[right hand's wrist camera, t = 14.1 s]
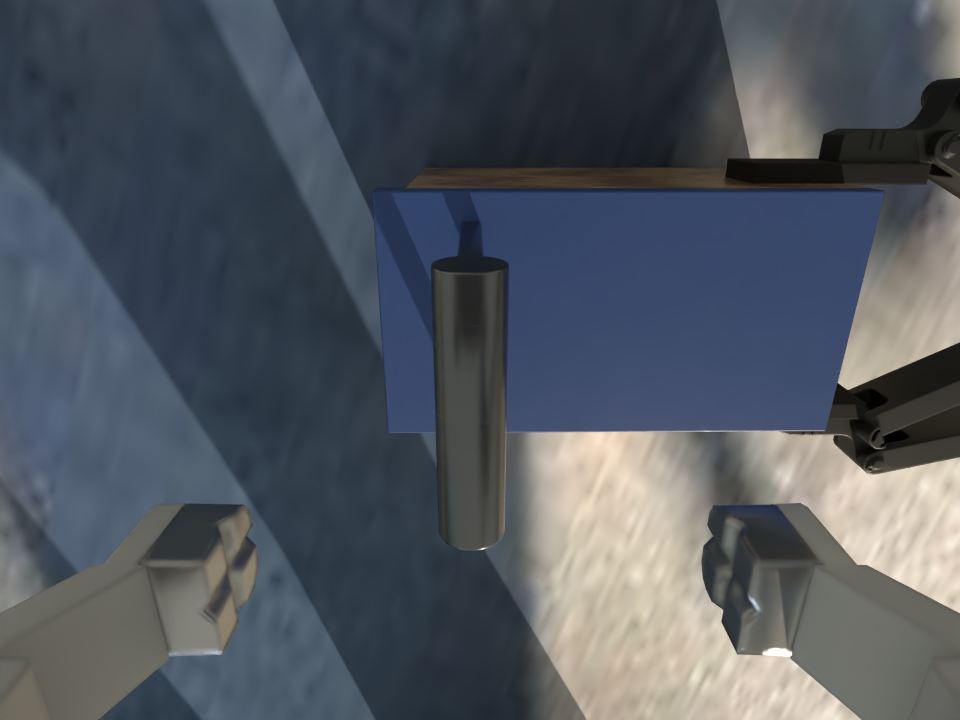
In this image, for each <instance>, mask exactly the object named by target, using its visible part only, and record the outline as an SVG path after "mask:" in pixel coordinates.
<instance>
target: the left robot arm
mask: <svg viewBox="0 0 960 720" xmlns="http://www.w3.org/2000/svg"><path fill="white" fill-rule="evenodd" d="M921 105H922V107H923V108H922V109H921V111H920V113H919V114H918V116H917V117H916V118H915V120H914V121H913V122H911V123H910V124H909V125H907V126H905V127H903V128H899V129H835V130H833V131H830V132H828V133H825V134H824V135H823V140H822V144H821V149H820V154H819V159H728V161H727V168H726V175H725V177H727V178H732V179H736V180H740V181H745V182H749V183H753V184H926V183H927V180H928V179H930V180H931V181H933V182H934V183H936V184H938V185H939V186H941V187H942V188H944V189H945V190H947V191H948V192H950V193H952V194H953V195H955V196H956V197H958V198H959V199H960V78H954V79H942V80H937V81H934V82H932V83H930V84H929V85H928V86H927V87H926V88H925V90H924V91H923V93H922V97H921ZM780 432H782V433H785V434H787V435H834V439H833V441H834V444H835V445H836V446H837V447H838V448H840V449H841V450H842V451H843V452H844V453H845V454H846V455H847V456H848V457H849V458H851V459H852V460H853V461H854V462H855V463H856V464H857V465H858V466H860V467H861V468H862V469H863V470H864V471H865V472H866V473H868V474H880V473H885V472H890V471H895V470H899V469H904V468H909V467H914V466H919V465H924V464H929V463H934V462H939V461H944V460H949V459H954V458H958V457H960V343H957V344H955V345H953V346H950V347H948V348H946V349H943V350H941V351H939V352H936V353H934V354H932V355H929V356H927V357H925V358H922V359H920V360H918V361H915V362H913V363H911V364H908V365H906V366H904V367H901V368H899V369H897V370H894V371H892V372H890V373H887V374H885V375H883V376H880V377H878V378H876V379H873V380H871V381H869V382H866V383H864V384H861V385H859V386H857V387H854V388H852V389H850V390H847V389H845V388H844V387H842V386H841V385H840V384H838V383H837V386H836V390H835V394H834V398H833V403H832V407H831V411H830V415H829V419H828V423H827V427H826V430H825V431H780Z"/></svg>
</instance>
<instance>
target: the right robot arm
mask: <svg viewBox="0 0 960 720" xmlns="http://www.w3.org/2000/svg"><path fill="white" fill-rule="evenodd" d="M252 525H253V524H252V519H251V515H250V510H249V508H247V507H246V506H245V505H234V504H185V503H161V504H158V505H155V506H153V507H152V508H151V509H150V510H149V512H148V513H147V514H146V515H145V516H144V517H143V519H142V520H141V521H140V522H139V523H138V524H137V526H136V527H135V528H134V529H133V530H132V531H131V533H130V534H129V535H128V536H127V537H126V538H125V540H124V541H123V542H122V543H121V544H120V545H119V547H118V548H117V549H116V550H115V551H114V552H113V554H112V555H111V556H110V557H109V558H108V559H107V561H106V562H105V563H104V564H103V565H93V566H91V567H89V568H87V569H85V570H83V571H81V572H79V573H77V574H75V575H73V576H71V577H69V578H68V579H66V580H64V581H62V582H60V583H58V584H56V585H54V586H52V587H50V588H48V589H46V590H44V591H42V592H41V593H39V594H37V595H35V596H33V597H31V598H29V599H27V600H25V601H23V602H21V603H19V604H17V605H15V606H14V607H12V608H10V609H8V610H6V611H4V612H2V613H0V720H99V719H100V718H101V717H102V716H103V715H104V714H106V713H107V712H108V711H109V710H110V709H111V708H113V707H114V706H115V705H116V704H117V703H118V702H120V701H121V700H122V699H123V698H124V697H125V696H127V695H128V694H129V693H130V692H131V691H132V690H134V689H135V688H136V687H137V686H138V685H139V684H141V683H142V682H143V681H144V680H145V679H146V678H148V677H149V676H150V675H151V674H152V673H153V672H155V671H156V670H157V669H158V668H159V667H160V666H162V665H163V664H164V663H165V662H166V661H167V660H169V656H181V655H215V654H223V653H224V650H225V648H226V646H227V644H228V642H229V640H230V638H231V636H232V634H233V632H234V630H235V628H236V626H237V624H238V616H237V611H236V610H237V609H238V608H240V607H241V606H243V605H244V604H245V603H247V602H248V601H249V599H250V597H251V595H252V592H253V590H254V588H255V583H256V578H257V574H258V553H257V547H256V545H255V544H254V543H253V542H252V541H251V540H250V539H249V538H248V537H247V534H248V533H249V531H250V529H251V527H252ZM707 525H708V527H709V529H710V531H711V533H712V534H713V537H712V538H711V539H710V540H709V541H708V542H707V543H706V544H705V545H704V547H703V555H702V573H703V580H704V583H705V587H706V590H707V592H708V595H709V597H710V599H711V601H712V602H713V603H715V604H716V605H717V606H719V607H720V608H722V609H723V610H724V611H723V616H722V624H723V626H724V628H725V630H726V632H727V634H728V636H729V638H730V640H731V642H732V644H733V646H734V648H735V650H736V652H737V654H743V655H779V656H791V659H792V660H793V661H794V662H795V663H796V664H798V665H799V666H800V667H801V668H802V669H803V670H805V671H806V672H807V673H808V674H809V675H810V676H812V677H813V678H814V679H815V680H816V681H817V682H819V683H820V684H821V685H822V686H823V687H824V688H825V689H827V690H828V691H829V692H830V693H831V694H832V695H834V696H835V697H836V698H837V699H838V700H839V701H841V702H842V703H843V704H844V705H845V706H846V707H848V708H849V709H850V710H851V711H852V712H853V713H855V714H856V715H857V716H858V717H859V718H860V719H862V720H960V613H958V612H956V611H954V610H952V609H950V608H948V607H946V606H944V605H942V604H941V603H939V602H937V601H935V600H933V599H931V598H929V597H927V596H925V595H923V594H921V593H919V592H917V591H915V590H914V589H912V588H910V587H908V586H906V585H904V584H902V583H900V582H898V581H896V580H894V579H892V578H890V577H889V576H887V575H885V574H883V573H881V572H879V571H877V570H875V569H873V568H871V567H869V566H867V565H857V564H856V563H855V562H854V561H853V559H852V558H851V557H850V556H849V555H848V554H847V552H846V551H845V550H844V549H843V548H842V547H841V545H840V544H839V543H838V542H837V541H836V540H835V538H834V537H833V536H832V535H831V534H830V533H829V532H828V530H827V529H826V528H825V527H824V526H823V525H822V523H821V522H820V521H819V520H818V519H817V518H816V516H815V515H814V514H813V513H812V512H811V511H810V509H809V508H808V507H807V506H805V505H803V504H801V503H786V504H771V505H713V507H712V509H711V511H710V513H709V519H708V524H707Z"/></svg>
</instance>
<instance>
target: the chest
mask: <svg viewBox="0 0 960 720" xmlns="http://www.w3.org/2000/svg"><path fill="white" fill-rule="evenodd" d="M725 175H726V168H424V169H423V170H422V171H421V172H420V173H419V174H418V175H417V176H416V177H415V178H414V179H413V181H412V182H411V183H410V184H409V185H408V186H407V187H406V188H865V187H860V186H855V185H849V184H753V183H749V182H745V181H740V180H736V179H732V178H727V177H725Z"/></svg>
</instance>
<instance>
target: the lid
mask: <svg viewBox="0 0 960 720" xmlns="http://www.w3.org/2000/svg"><path fill="white" fill-rule="evenodd" d="M884 193H885V191H883V190H877V189H872V188H377V189H375V190H374V191H373V192H372V197H373V212H374V228H375V243H376V258H377V273H378V289H379V304H380V319H381V334H382V350H383V365H384V380H385V395H386V411H387V426H388V433H436V456H437V488H438V520H439V534H440V536H441V538H442V539H443V540H444V542H445V543H447V544H448V545H450V546H452V547H454V548H456V549H460V550H466V551H477V550H482V549H486V548H489V547H491V546H493V545H494V544H496V543H497V542H498V541H499V540H500V539H501V537H502V536H503V533H504V518H505V466H506V432H698V431H825V430H826V427H827V423H828V419H829V415H830V411H831V407H832V403H833V398H834V394H835V390H836V386H837V382H838V378H839V374H840V370H841V366H842V362H843V358H844V354H845V350H846V346H847V342H848V338H849V334H850V330H851V326H852V322H853V318H854V314H855V310H856V306H857V302H858V298H859V294H860V290H861V286H862V282H863V278H864V274H865V270H866V266H867V262H868V258H869V254H870V250H871V246H872V242H873V237H874V233H875V229H876V225H877V221H878V217H879V213H880V209H881V205H882V201H883V197H884Z"/></svg>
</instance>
